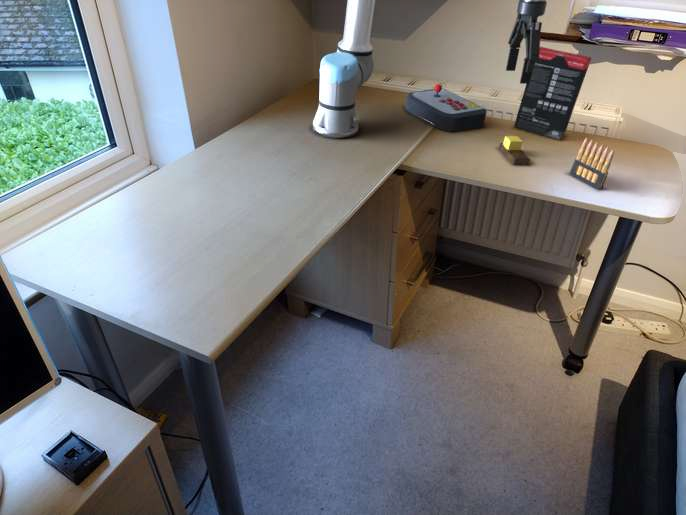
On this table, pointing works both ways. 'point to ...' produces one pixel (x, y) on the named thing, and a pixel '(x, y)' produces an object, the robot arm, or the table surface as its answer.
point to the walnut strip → (515, 156)
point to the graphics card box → (552, 92)
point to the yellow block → (512, 143)
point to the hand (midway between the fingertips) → (517, 76)
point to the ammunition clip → (592, 165)
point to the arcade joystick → (445, 109)
